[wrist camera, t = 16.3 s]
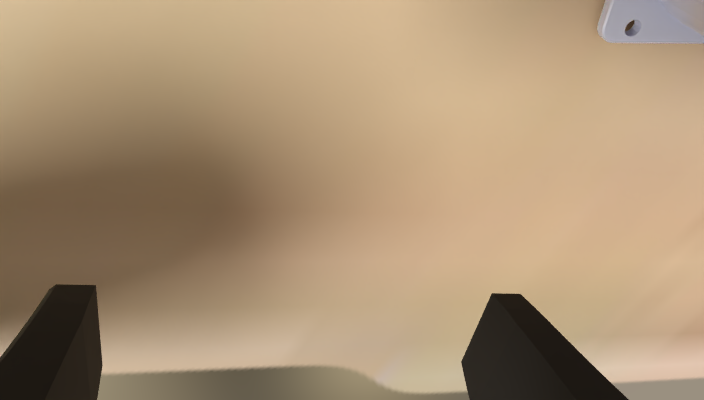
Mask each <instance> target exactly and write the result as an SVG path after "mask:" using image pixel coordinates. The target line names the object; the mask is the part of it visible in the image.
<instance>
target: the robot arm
mask: <svg viewBox="0 0 704 400" xmlns="http://www.w3.org/2000/svg"><path fill="white" fill-rule="evenodd" d="M633 20H634V25H633V26H632V28H631V29H629V30H628V31H625V28H626V26H627V24H628V23H629V22H631V21H633ZM597 31H598V34H599V36H600V37H602V38H603V39H604V40H605V41H607V42H610V43H689V44H704V0H605V3H604V6H603V10H602V13H601V16H600V19H599V22H598V27H597ZM461 363H462V367H463V372H464V377H465V381H466V386H467V390H468V394H469V398H470V400H628V399H627V398H626V397H625V396H624V395H623V394H622V393H621V392H620V391H619V390H618V389H617V388H615V386H614V385H613V384H611V383H610V382H609V381H608V380H607V379H606V378H605V377H604V376H603V375H602V374H601V373H600V372H599V371H598V370H597V369H596V368H595V367H594V366H593V365H592V364H591V363H590V362H589V361H588V360H587V359H586V358H585V357H584V356H583V355H582V354H581V353H580V352H579V351H578V350H577V349H576V348H575V347H574V346H573V345H572V344H571V343H570V342H569V341H568V340H567V339H566V338H565V337H564V336H563V335H562V334H561V333H560V332H559V331H558V330H557V329H556V328H555V327H554V326H553V325H552V324H551V323H550V322H549V321H548V320H547V319H546V318H545V317H544V316H543V315H542V314H541V313H540V312H539V311H538V310H537V309H536V308H535V307H534V306H532V305H531V304H530V303H529V302H528V301H527V300H526V299H525V298H524V297H523V296H522V295H521V294H495V293H492V294H491V297H490V299H489V301H488V303H487V306H486V308H485V310H484V312H483V315H482V317H481V319H480V321H479V324H478V326H477V328H476V330H475V332H474V335H473V337H472V339H471V341H470V344H469V346H468V348H467V350H466V353H465V355H464V357H463V359H462V362H461ZM101 371H102V355H101V343H100V330H99V318H98V306H97V293H96V285H55V286H53V287H52V288H51V289H49V291H48V292H47V294H46V295H45V297H44V298H43V300H42V301H41V303H40V304H39V306H38V307H37V309H36V310H35V311H34V313H33V314H32V316H31V317H30V319H29V320H28V321H27V323H26V324H25V325H24V327H23V328H22V330H21V331H20V332H19V334H18V335H17V336H16V338H15V339H14V340H13V341H12V343H11V344H10V345H9V347H8V348H7V349H6V351H5V352H4V353H3V355H2V356H1V357H0V400H97V396H98V390H99V384H100V377H101Z"/></svg>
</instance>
